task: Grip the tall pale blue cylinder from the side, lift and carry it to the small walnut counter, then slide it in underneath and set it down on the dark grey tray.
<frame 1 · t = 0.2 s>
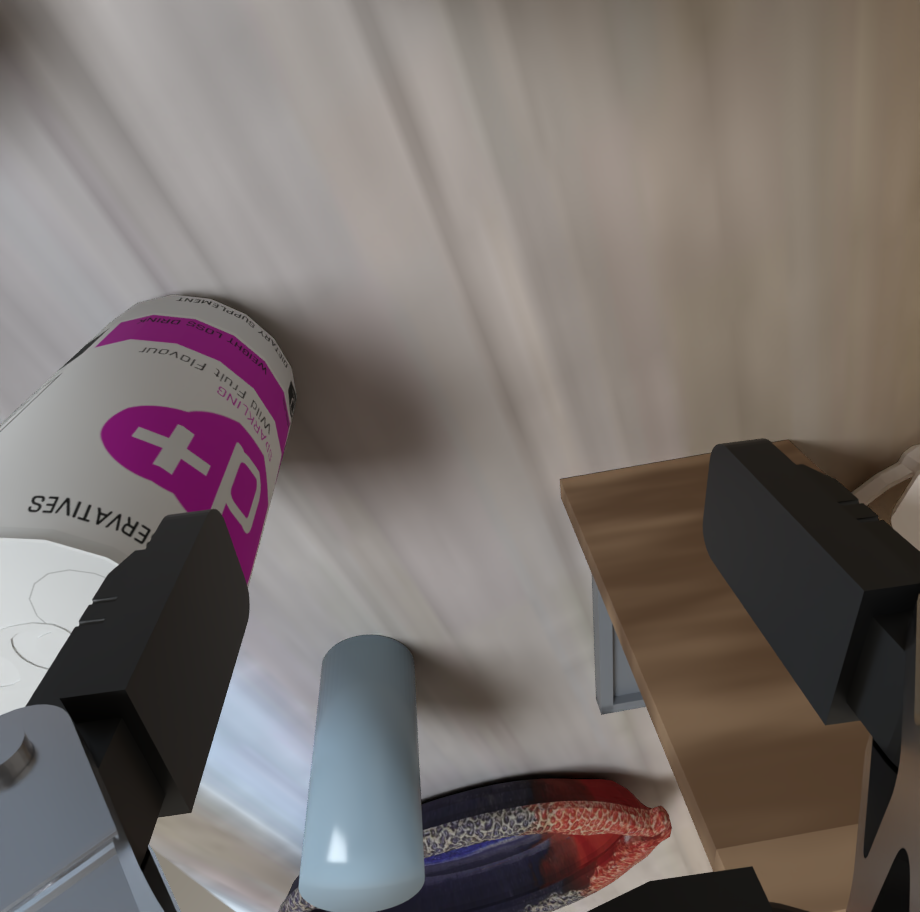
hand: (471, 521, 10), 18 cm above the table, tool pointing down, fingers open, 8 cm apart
supplement can: (203, 379, 28), on the table
dish: (465, 827, 50), on the table
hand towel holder: (917, 528, 37), on the table
tall pale blue cylinder: (368, 667, 38), on the table
counter: (666, 603, 38), on the table
tray: (665, 614, 38), on the table
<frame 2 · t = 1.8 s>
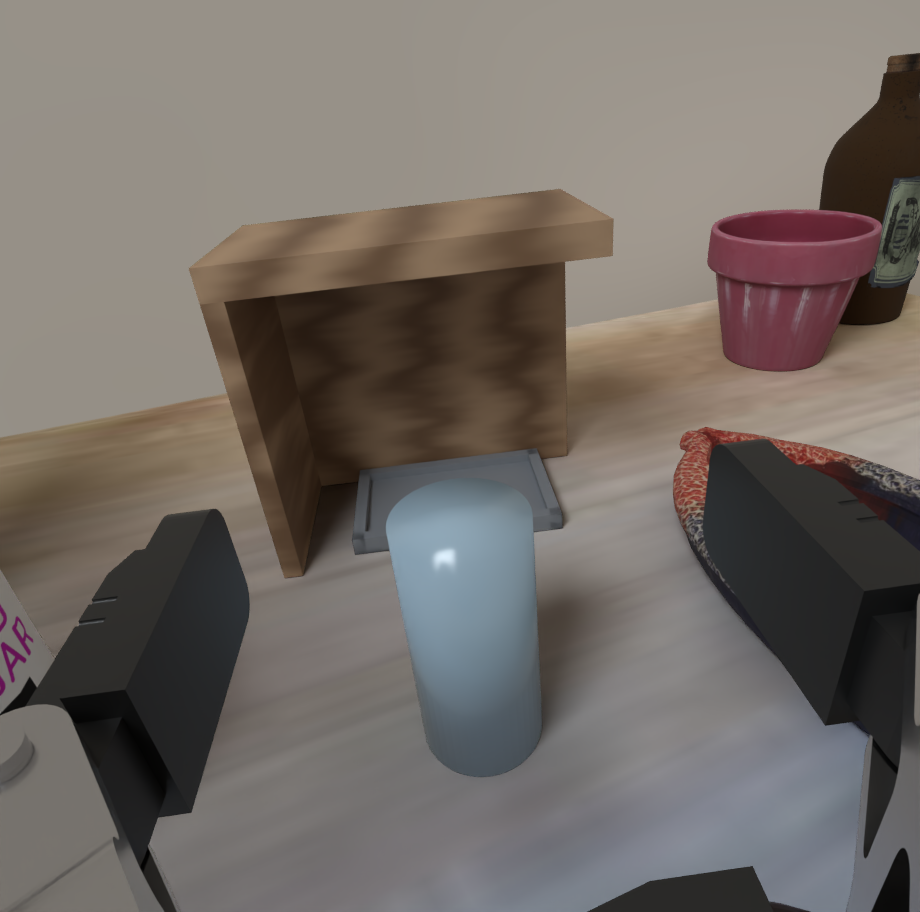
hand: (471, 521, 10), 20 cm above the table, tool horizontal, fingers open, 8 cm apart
supplement can: (30, 846, 27), on the table
dish: (868, 621, 33), on the table
tall pale blue cylinder: (482, 721, 30), on the table
counter: (440, 505, 46), on the table
tray: (454, 503, 46), on the table
olive oil: (850, 313, 72), on the table
plant pot: (771, 356, 64), on the table
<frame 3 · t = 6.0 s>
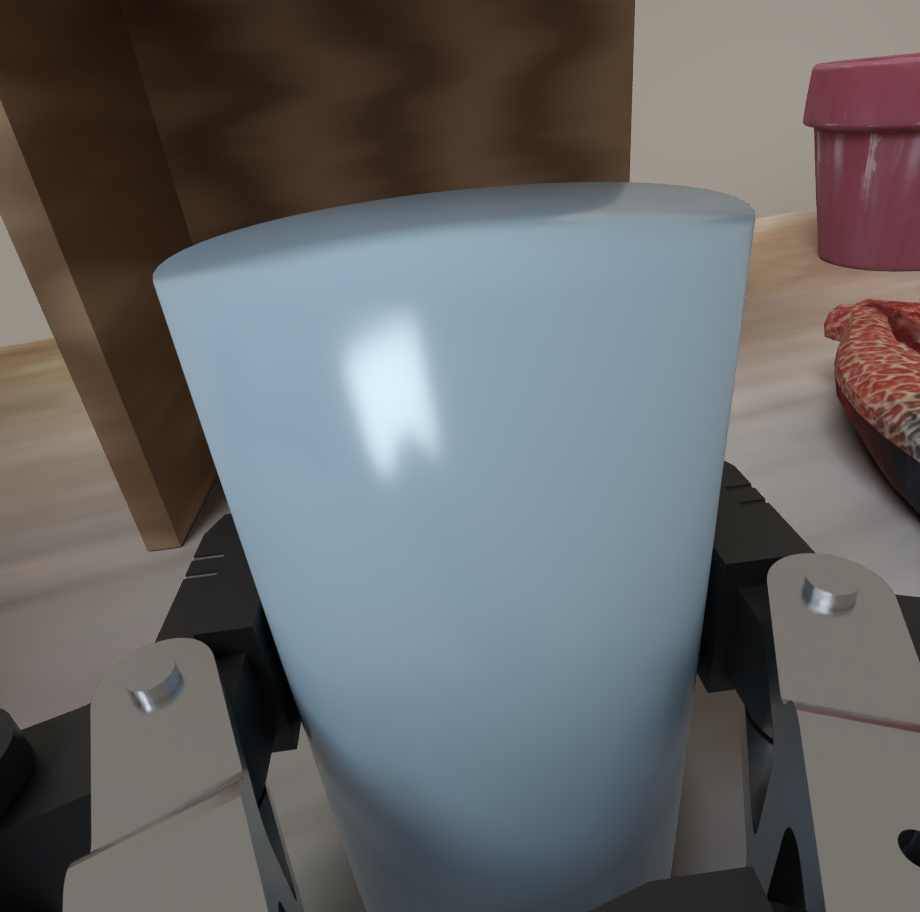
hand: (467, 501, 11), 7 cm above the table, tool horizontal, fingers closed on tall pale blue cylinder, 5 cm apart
tall pale blue cylinder: (514, 870, 12), on the table, touching gripper
counter: (427, 438, 28), on the table
plant pot: (888, 258, 46), on the table
when the fingers open (8 cm above the table, at t = 12.1 s): tall pale blue cylinder stays where it is, resting on tray.
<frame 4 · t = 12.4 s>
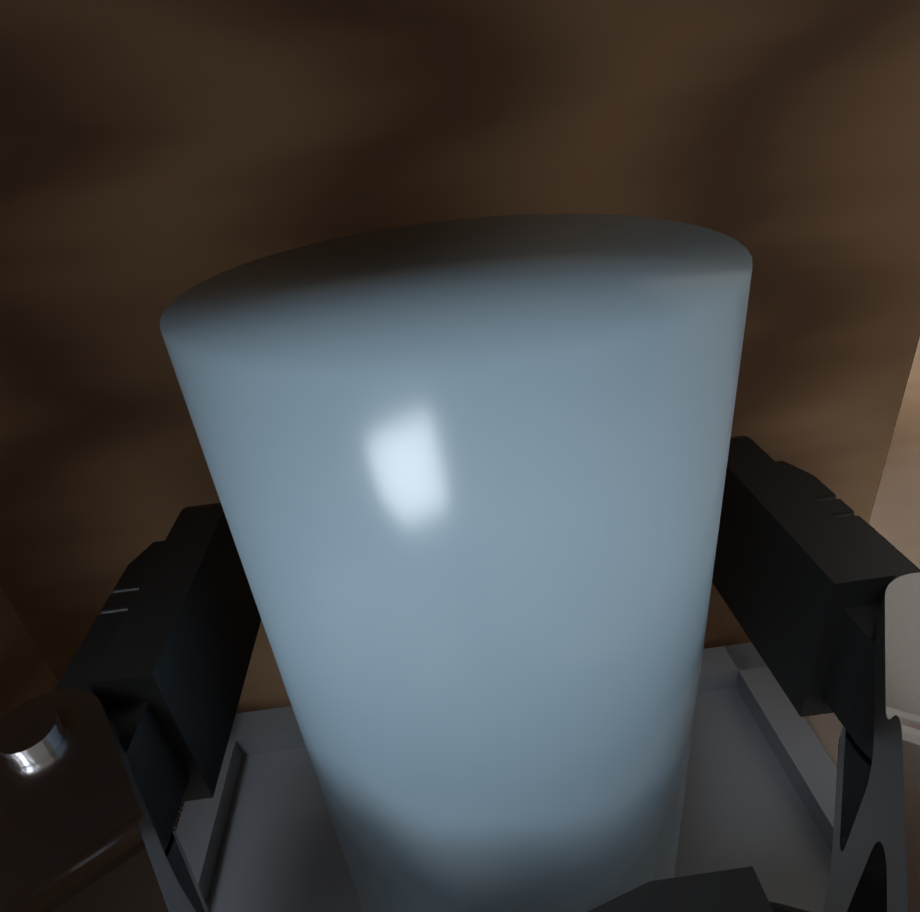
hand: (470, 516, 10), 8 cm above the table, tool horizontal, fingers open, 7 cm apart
tall pale blue cylinder: (516, 885, 12), point 1 cm above the table, touching tray
counter: (467, 904, 13), on the table
tray: (516, 897, 13), on the table
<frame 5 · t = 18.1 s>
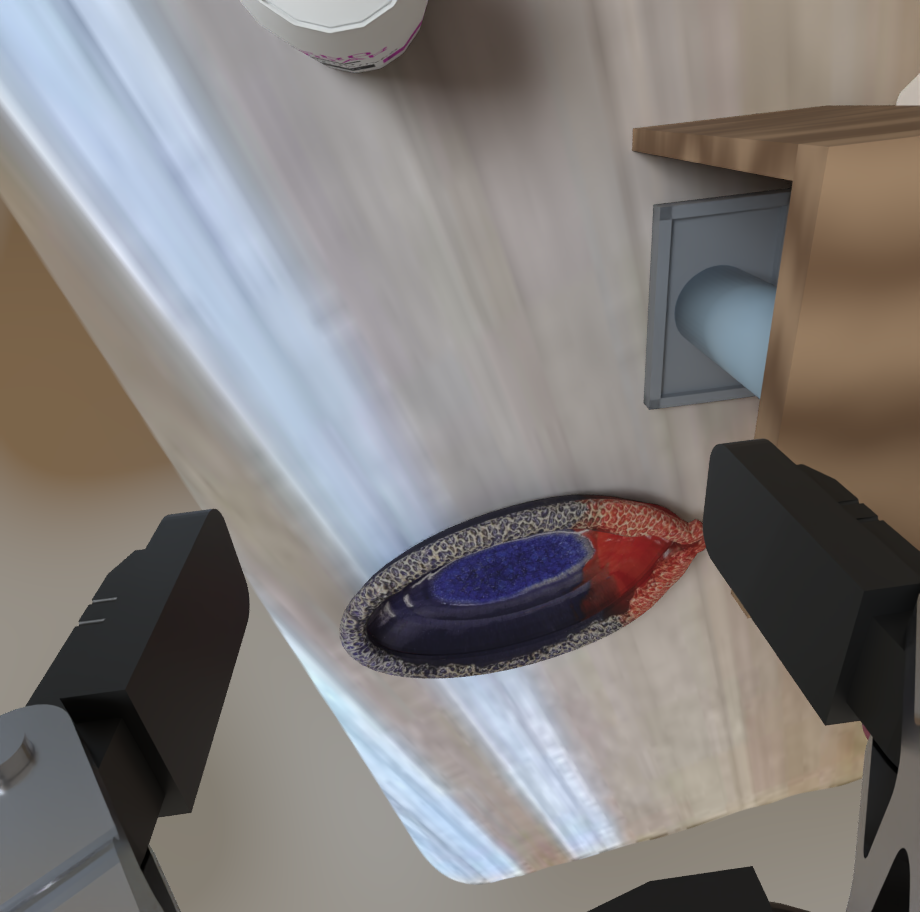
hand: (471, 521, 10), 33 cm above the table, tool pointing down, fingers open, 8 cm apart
dish: (513, 564, 54), on the table
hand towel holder: (916, 210, 42), on the table
tall pale blue cylinder: (714, 306, 43), point 1 cm above the table, touching tray
counter: (713, 289, 43), on the table
tray: (711, 303, 44), on the table
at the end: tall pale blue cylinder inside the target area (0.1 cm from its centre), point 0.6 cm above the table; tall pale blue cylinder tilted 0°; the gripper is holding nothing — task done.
